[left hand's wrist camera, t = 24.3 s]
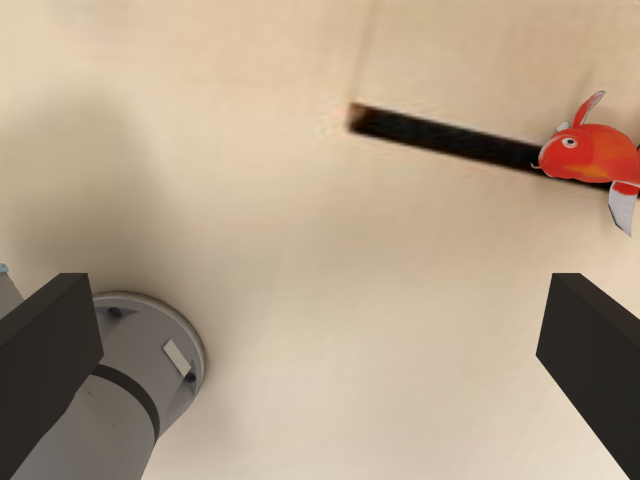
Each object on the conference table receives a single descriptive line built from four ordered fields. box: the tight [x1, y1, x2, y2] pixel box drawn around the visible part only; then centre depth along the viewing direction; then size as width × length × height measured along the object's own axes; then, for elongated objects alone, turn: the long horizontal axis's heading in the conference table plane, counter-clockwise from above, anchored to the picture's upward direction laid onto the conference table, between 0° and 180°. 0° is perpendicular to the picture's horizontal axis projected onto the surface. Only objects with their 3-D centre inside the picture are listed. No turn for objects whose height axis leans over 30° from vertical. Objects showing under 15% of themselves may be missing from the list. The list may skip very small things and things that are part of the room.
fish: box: [531, 91, 640, 237], centre depth 34 cm, size 11×16×10 cm
